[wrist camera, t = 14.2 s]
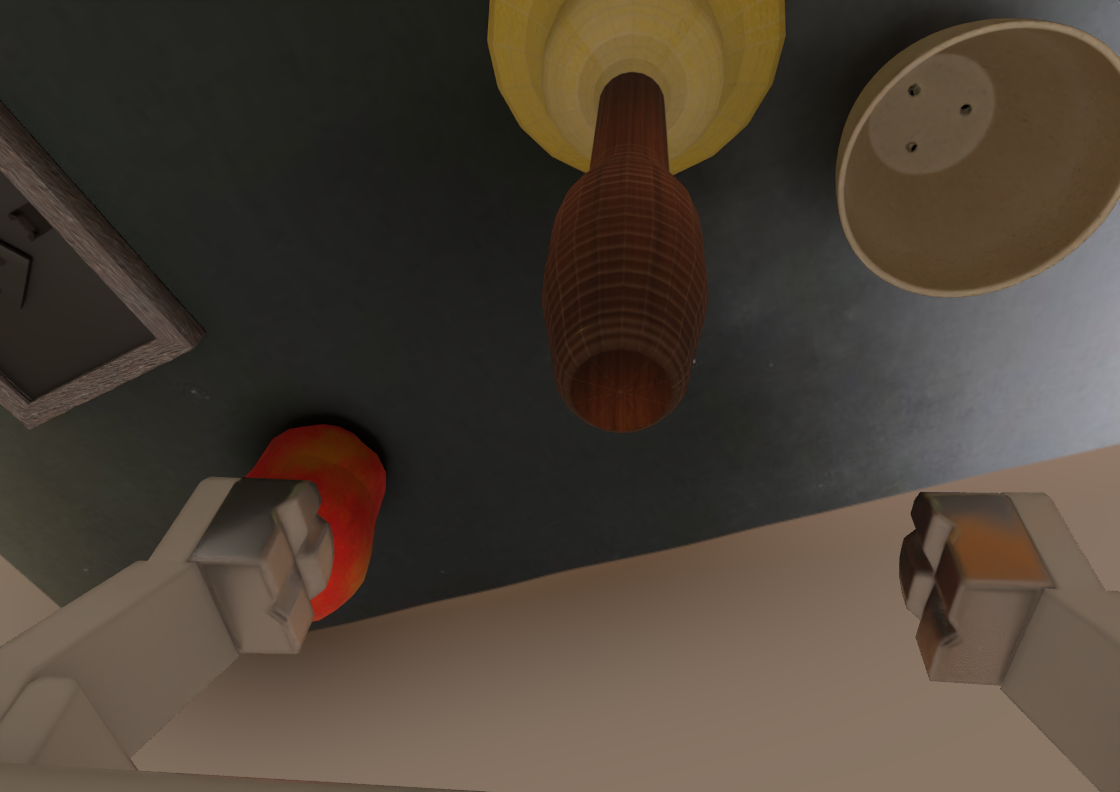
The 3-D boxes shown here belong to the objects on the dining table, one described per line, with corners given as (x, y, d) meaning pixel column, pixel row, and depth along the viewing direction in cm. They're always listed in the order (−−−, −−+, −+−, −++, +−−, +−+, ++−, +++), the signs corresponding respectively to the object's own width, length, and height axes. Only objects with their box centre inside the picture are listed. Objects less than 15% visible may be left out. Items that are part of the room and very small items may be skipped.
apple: (336, 524, 53) (268, 683, 43) (234, 440, 49) (136, 595, 40) (431, 468, 49) (381, 629, 40) (329, 374, 45) (247, 526, 36)
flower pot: (1066, 175, 36) (1146, 248, 30) (834, 249, 39) (867, 329, 33) (1047, -65, 30) (1141, -33, 25) (781, 42, 33) (809, 93, 28)
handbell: (807, -146, 30) (1154, -25, 10) (768, 181, 37) (917, 639, 17) (472, -134, 31) (149, -1, 11) (498, 181, 38) (336, 613, 18)
